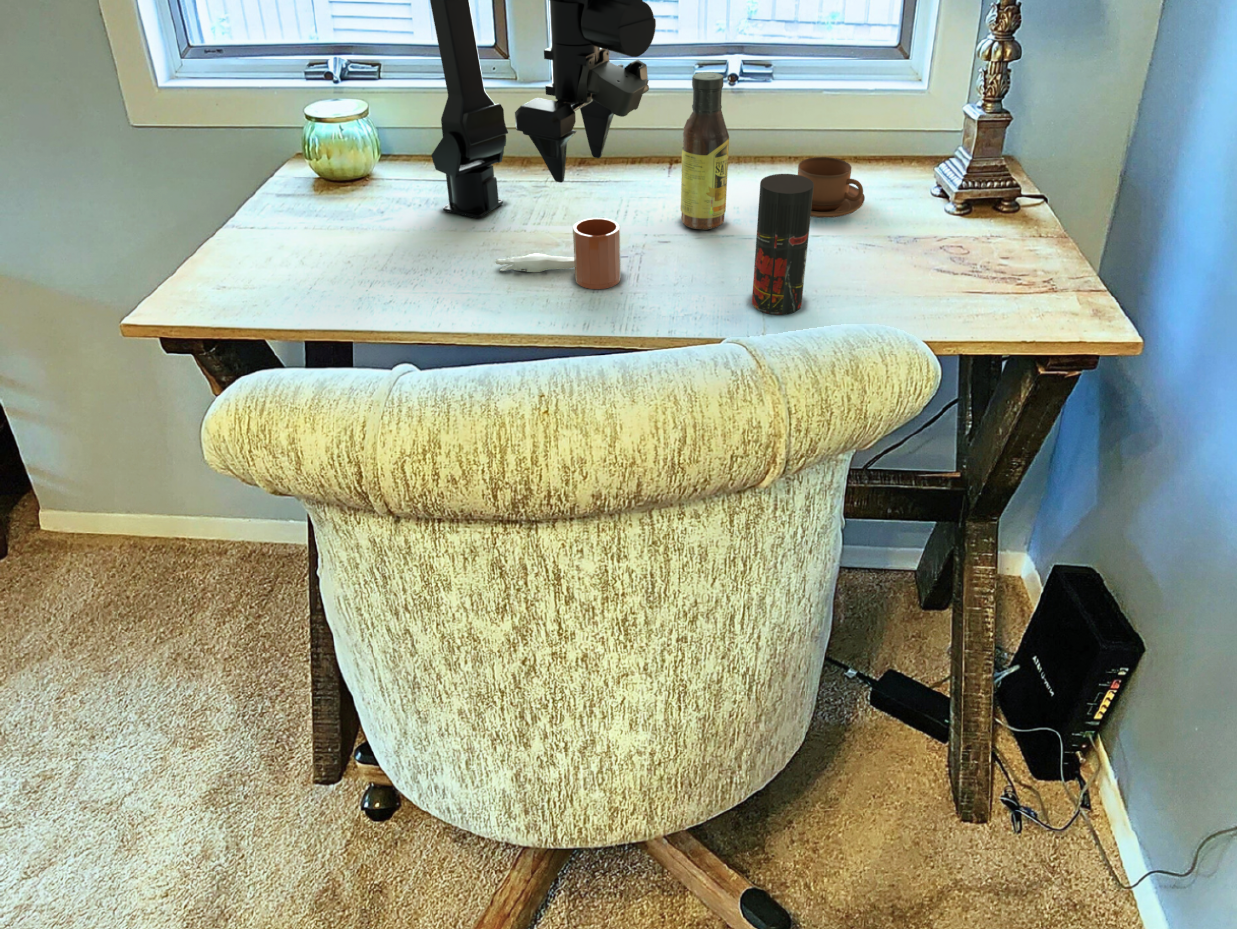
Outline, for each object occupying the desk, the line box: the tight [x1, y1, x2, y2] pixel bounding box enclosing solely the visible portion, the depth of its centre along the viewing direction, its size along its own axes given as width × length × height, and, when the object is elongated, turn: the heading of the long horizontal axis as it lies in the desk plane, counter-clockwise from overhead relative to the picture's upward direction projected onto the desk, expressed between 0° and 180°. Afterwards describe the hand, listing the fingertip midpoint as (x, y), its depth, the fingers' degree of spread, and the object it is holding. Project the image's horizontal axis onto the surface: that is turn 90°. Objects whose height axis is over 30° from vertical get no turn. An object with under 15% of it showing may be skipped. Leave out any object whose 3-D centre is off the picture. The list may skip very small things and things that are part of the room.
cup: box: [572, 217, 622, 290], centre depth 127 cm, size 6×6×7 cm
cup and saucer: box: [797, 156, 866, 219], centre depth 145 cm, size 12×12×6 cm
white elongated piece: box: [494, 252, 575, 273], centre depth 131 cm, size 15×3×2 cm, turn 92°
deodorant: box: [751, 173, 814, 316], centre depth 119 cm, size 6×6×15 cm
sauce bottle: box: [680, 71, 730, 230], centre depth 137 cm, size 7×6×20 cm
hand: (578, 169), depth 128 cm, fingers open, 9 cm apart
